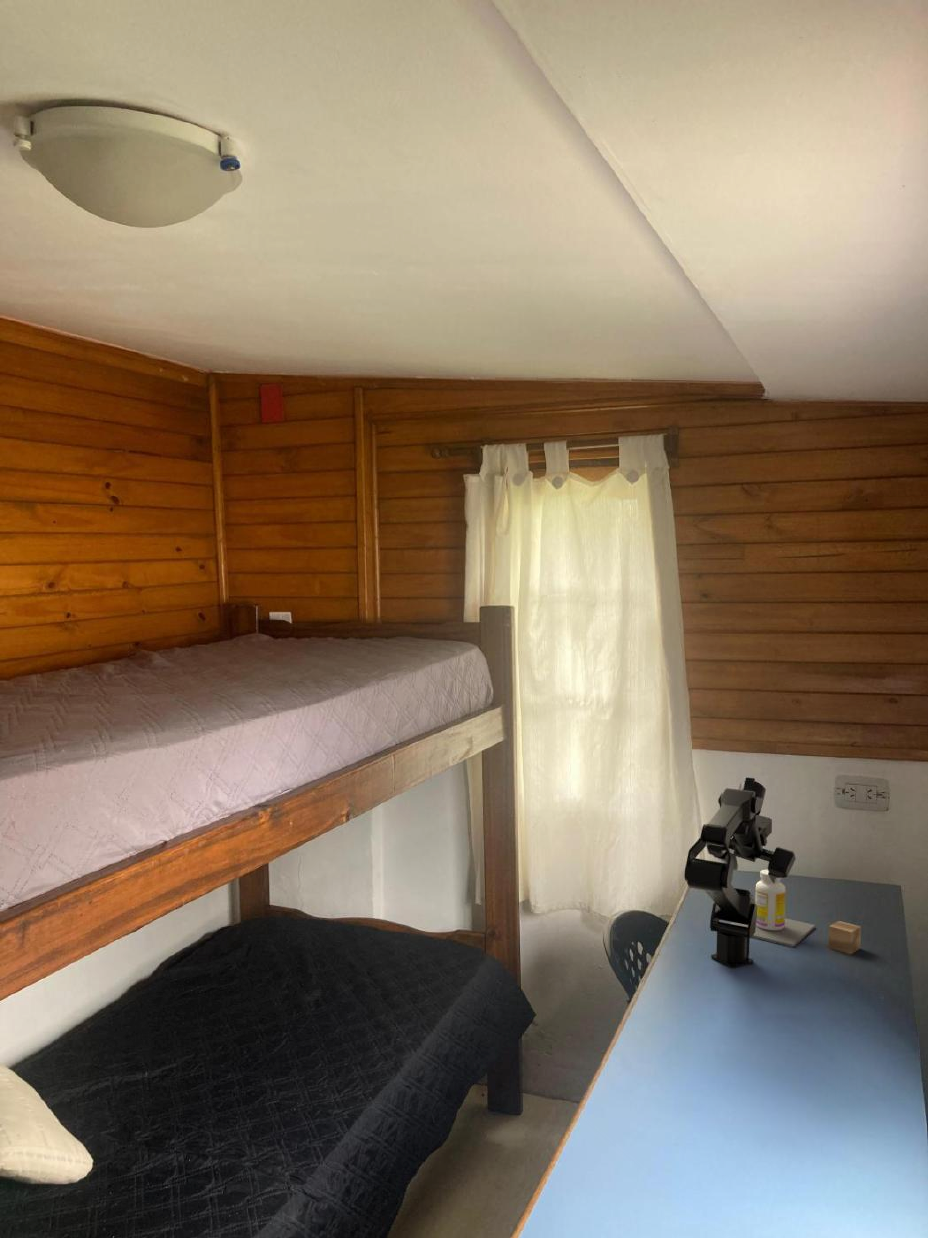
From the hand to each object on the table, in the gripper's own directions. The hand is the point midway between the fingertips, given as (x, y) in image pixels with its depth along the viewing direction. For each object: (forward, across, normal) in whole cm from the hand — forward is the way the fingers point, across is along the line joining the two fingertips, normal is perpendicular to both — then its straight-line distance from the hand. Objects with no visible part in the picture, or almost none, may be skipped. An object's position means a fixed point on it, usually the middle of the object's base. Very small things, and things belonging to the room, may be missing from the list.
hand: (755, 875), depth 217 cm
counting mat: (+14, -3, +4) cm, 15 cm away
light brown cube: (+13, -20, +3) cm, 24 cm away
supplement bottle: (+14, -3, +4) cm, 15 cm away
